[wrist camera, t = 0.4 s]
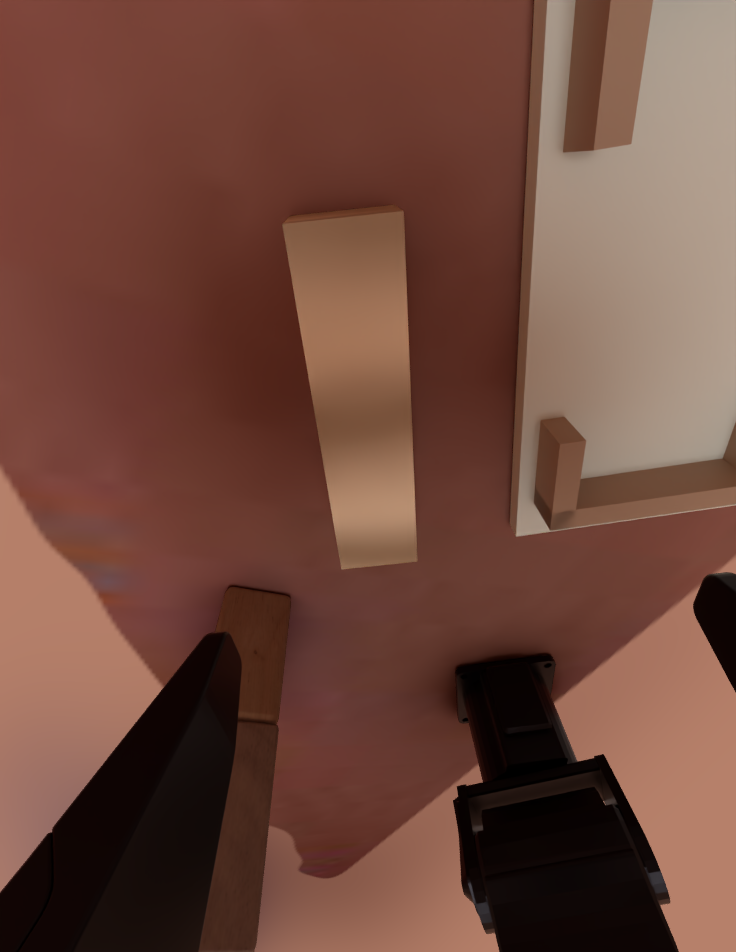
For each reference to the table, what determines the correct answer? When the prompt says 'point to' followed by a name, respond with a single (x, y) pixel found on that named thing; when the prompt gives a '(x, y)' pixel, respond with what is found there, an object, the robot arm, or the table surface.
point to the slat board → (627, 265)
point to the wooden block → (248, 768)
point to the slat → (359, 374)
